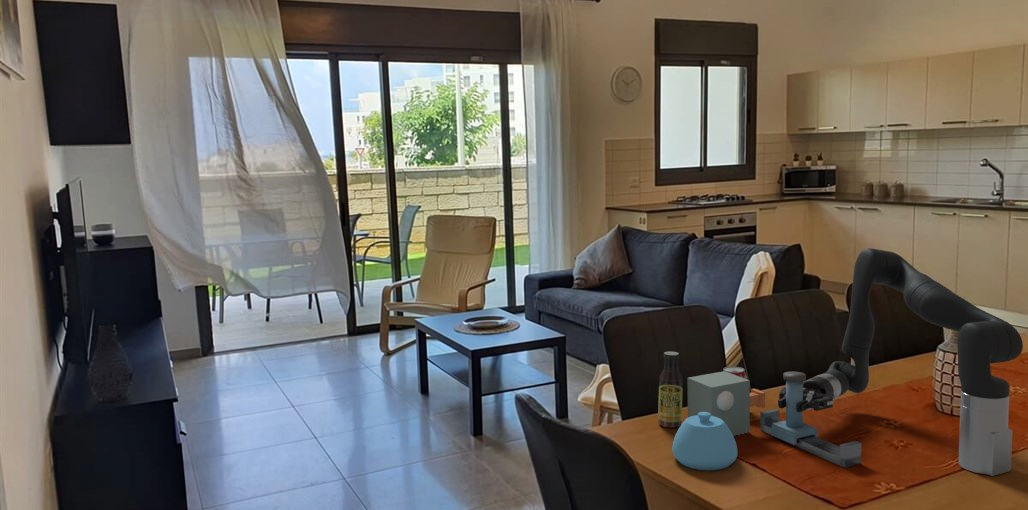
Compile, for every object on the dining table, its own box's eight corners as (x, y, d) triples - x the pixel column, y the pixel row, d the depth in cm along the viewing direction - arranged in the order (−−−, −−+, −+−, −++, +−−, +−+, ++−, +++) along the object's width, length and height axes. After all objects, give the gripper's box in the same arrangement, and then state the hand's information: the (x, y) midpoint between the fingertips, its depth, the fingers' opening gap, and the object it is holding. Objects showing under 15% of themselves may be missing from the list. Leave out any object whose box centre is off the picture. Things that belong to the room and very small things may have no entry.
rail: (860, 463, 179) (861, 442, 179) (844, 467, 177) (845, 446, 177) (775, 427, 205) (775, 408, 204) (760, 430, 203) (760, 412, 202)
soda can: (744, 406, 223) (744, 365, 221) (749, 414, 216) (749, 372, 214) (719, 406, 223) (719, 365, 222) (723, 414, 216) (723, 372, 215)
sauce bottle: (657, 428, 208) (656, 355, 205) (659, 420, 214) (657, 349, 211) (682, 429, 206) (681, 356, 204) (683, 421, 212) (682, 350, 210)
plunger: (764, 407, 203) (764, 392, 202) (739, 412, 200) (739, 397, 199) (754, 403, 207) (754, 388, 206) (729, 408, 203) (729, 393, 203)
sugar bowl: (660, 454, 190) (659, 408, 188) (712, 444, 195) (712, 400, 193) (695, 477, 176) (695, 427, 174) (750, 466, 181) (750, 417, 179)
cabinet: (751, 433, 201) (751, 380, 199) (713, 441, 196) (712, 388, 195) (724, 421, 211) (724, 371, 209) (688, 429, 206) (687, 377, 204)
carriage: (817, 439, 193) (818, 376, 191) (794, 444, 190) (794, 380, 188) (794, 429, 200) (794, 368, 198) (771, 434, 197) (771, 372, 195)
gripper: (794, 371, 209) (762, 386, 197) (847, 381, 198) (816, 397, 187) (794, 398, 210) (762, 415, 198) (847, 409, 199) (816, 427, 188)
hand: (789, 406), depth 192 cm, fingers closed on carriage, 4 cm apart
